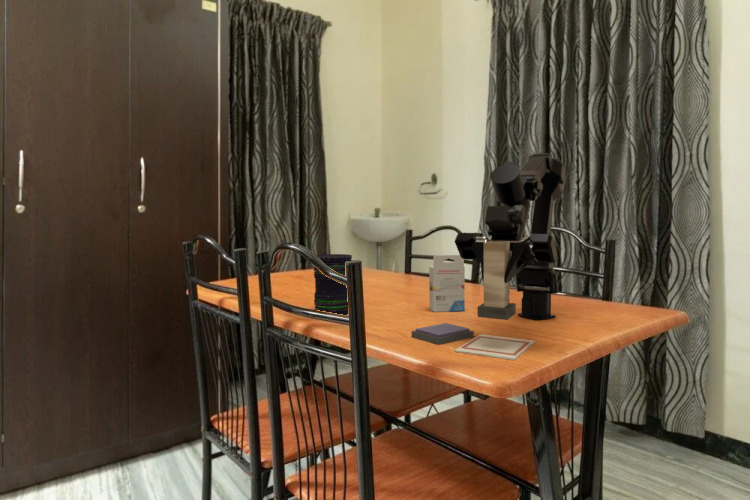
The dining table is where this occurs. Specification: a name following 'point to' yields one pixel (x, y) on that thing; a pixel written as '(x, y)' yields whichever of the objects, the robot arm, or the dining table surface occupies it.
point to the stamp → (496, 282)
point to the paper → (496, 346)
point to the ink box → (447, 284)
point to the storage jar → (331, 286)
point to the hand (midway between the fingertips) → (494, 280)
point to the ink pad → (442, 333)
